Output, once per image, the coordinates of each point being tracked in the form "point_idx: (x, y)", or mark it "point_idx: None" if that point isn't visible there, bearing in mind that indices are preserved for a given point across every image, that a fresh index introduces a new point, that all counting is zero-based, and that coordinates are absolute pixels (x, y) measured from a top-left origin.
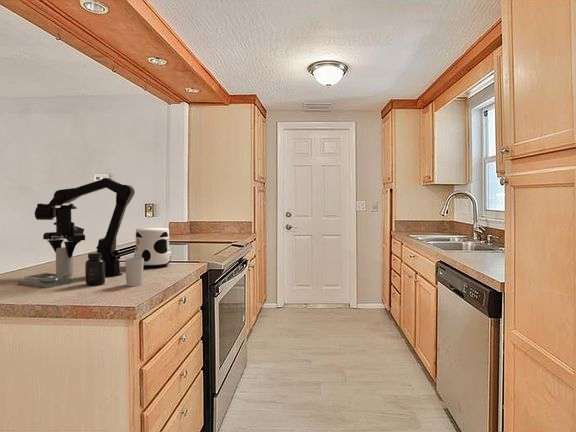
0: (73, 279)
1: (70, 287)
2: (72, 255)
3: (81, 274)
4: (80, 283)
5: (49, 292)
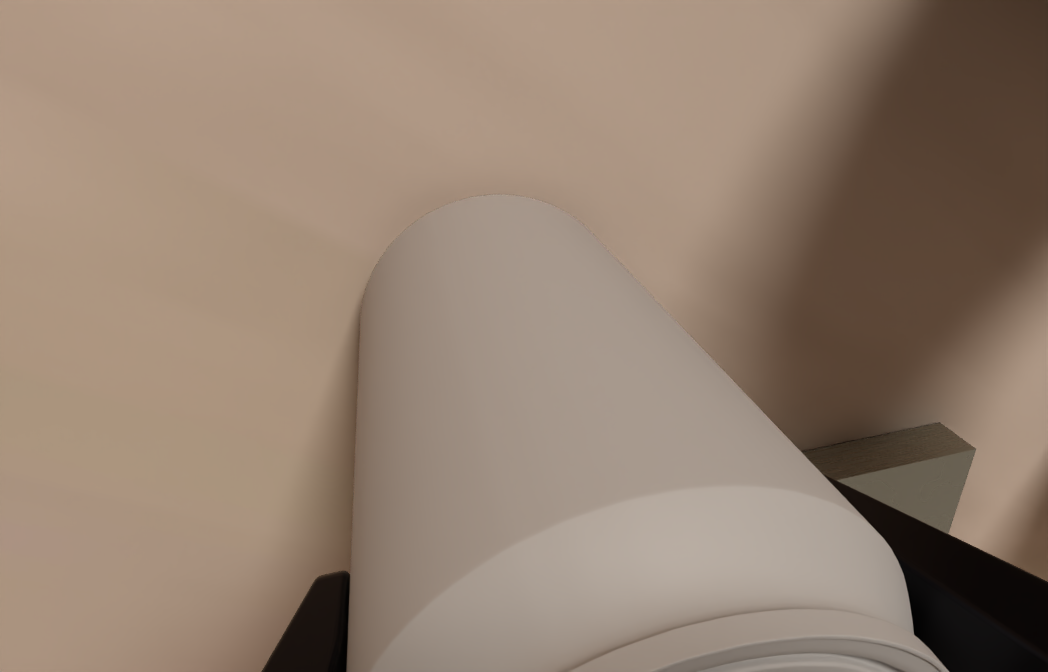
0: (962, 457)
1: (1040, 532)
2: (781, 431)
3: (587, 47)
4: (1027, 414)
5: None
